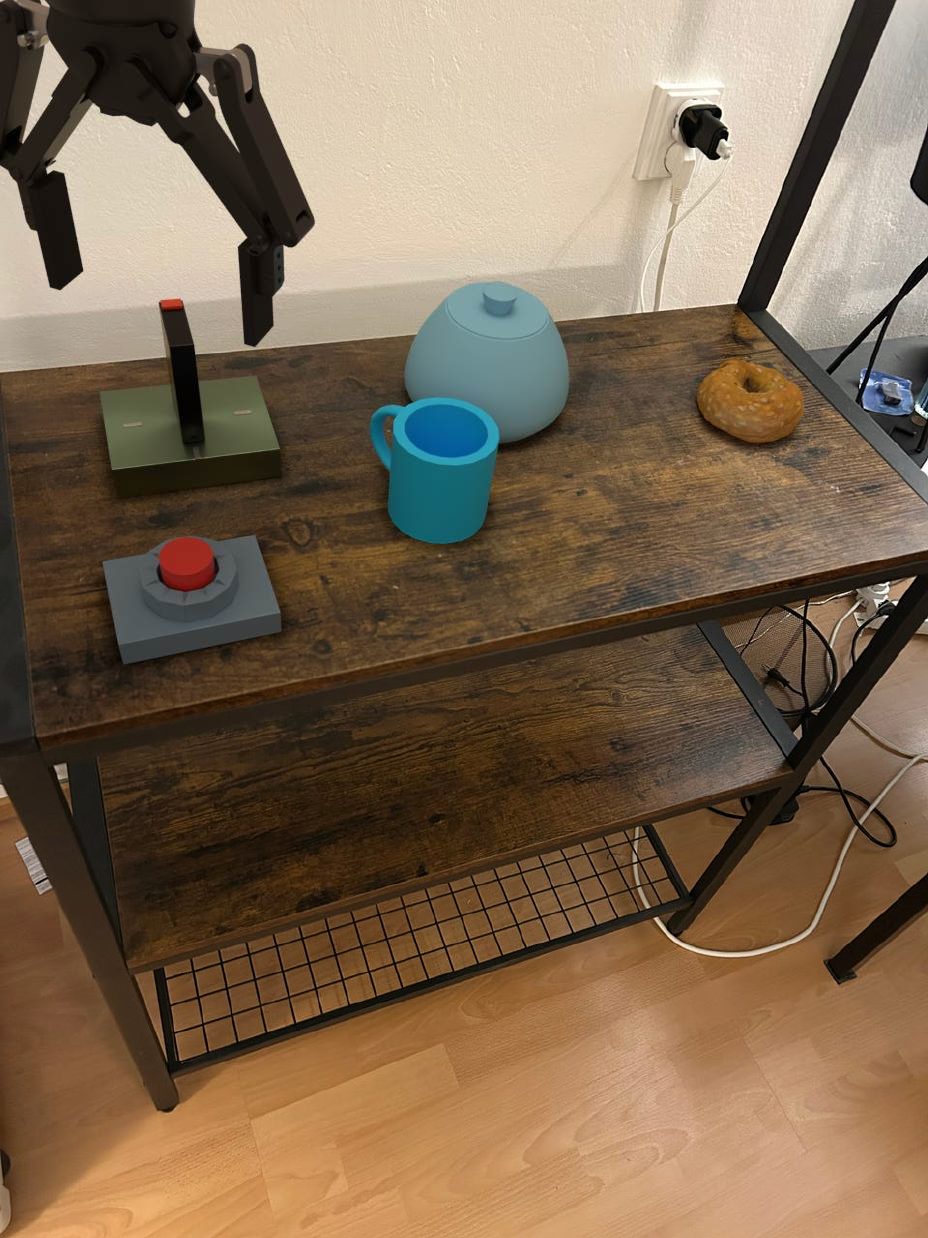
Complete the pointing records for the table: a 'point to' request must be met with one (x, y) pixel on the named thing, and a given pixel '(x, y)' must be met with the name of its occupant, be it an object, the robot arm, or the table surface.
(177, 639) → the button housing
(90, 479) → the table surface
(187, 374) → the black slab
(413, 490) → the mug
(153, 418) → the dial panel
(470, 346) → the sugar bowl
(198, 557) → the button
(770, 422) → the bagel
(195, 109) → the robot arm
